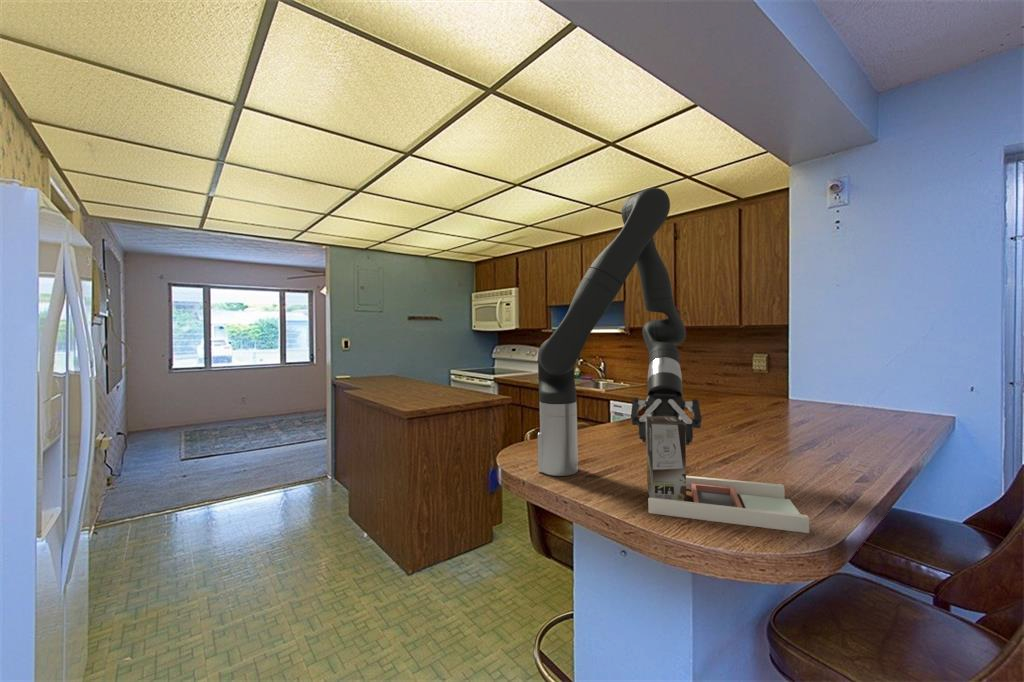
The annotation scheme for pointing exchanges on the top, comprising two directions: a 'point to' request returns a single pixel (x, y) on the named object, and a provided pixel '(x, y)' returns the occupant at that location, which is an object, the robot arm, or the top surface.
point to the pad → (768, 504)
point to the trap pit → (715, 495)
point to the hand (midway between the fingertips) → (665, 441)
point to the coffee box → (666, 457)
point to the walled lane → (733, 513)
